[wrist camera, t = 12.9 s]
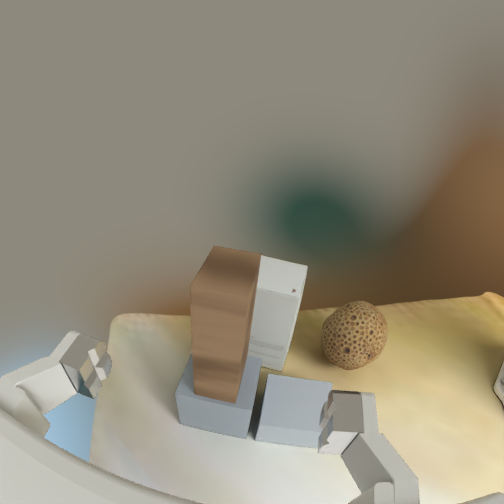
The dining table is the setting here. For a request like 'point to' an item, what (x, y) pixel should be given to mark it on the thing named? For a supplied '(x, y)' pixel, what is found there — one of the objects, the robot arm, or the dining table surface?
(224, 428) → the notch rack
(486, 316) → the dining table surface
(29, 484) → the robot arm
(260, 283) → the supplement box
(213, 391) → the frame block
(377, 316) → the natural sponge
